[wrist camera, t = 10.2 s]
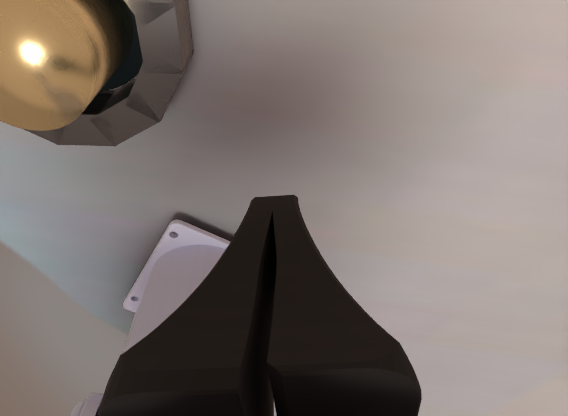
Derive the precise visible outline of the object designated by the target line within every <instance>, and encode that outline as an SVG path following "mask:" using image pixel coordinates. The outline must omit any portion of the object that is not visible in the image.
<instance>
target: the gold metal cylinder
mask: <svg viewBox="0 0 568 416" xmlns="http://www.w3.org/2000/svg"><path fill="white" fill-rule="evenodd" d="M132 43H133V21H132V17H131V13H130V10H129V8H128V5H127V4H126V2H125V1H124V0H0V121H2V122H4V123H7V124H9V125H12V126H15V127H18V128H22V129H27V130H36V131H47V130H54V129H58V128H61V127H64V126H66V125H68V124H70V123H71V122H73V121H74V120H76V119H77V118H78V117H79V116H80V115H81V114H82V112H83V111H84V110H85V109H86V107H87V106H88V105H89V104H90V102H91V101H92V100H93V99H94V97H95V96H96V95H97V94H98V92H99V91H100V90H101V89H102V87H103V86H104V85H105V84H106V82H107V81H108V80H109V79H110V77H111V76H112V75H113V74H114V72H115V71H116V70H117V69H118V67H119V66H120V65H121V64H122V62H123V61H124V60H125V58H126V57H127V56H128V54H129V52H130V49H131V46H132Z"/></svg>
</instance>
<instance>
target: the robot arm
mask: <svg viewBox="0 0 568 416" xmlns="http://www.w3.org/2000/svg"><path fill="white" fill-rule="evenodd" d="M172 232H176V233H177V234H174V233H172ZM123 307H124V308H125V309H126V310H129V311H132V312H134V313H135V316H134V319H133V322H132V325H131V328H130V331H129V334H128V337H127V340H126V343H125V346H124V349H123V352H122V354H121V355H120V357H119V359H118V361H117V364H116V366H115V368H114V370H113V372H112V374H111V376H110V378H109V381H108V383H107V386H106V390H105V393H104V394H101V393H91V394H90V395H89V397H88V398H86V399H84V400H82V401H81V402H79V403H77V404H76V406H75V407H74V409H73V411H72V413H71V415H70V416H274V403H275V408H276V413H277V416H418V412H419V407H420V403H421V388H420V385H419V382H418V379H417V377H416V374H415V372H414V369H413V367H412V365H411V363H410V361H409V359H408V357H407V355H406V353H405V352H404V350H403V348H402V346H401V345H400V343H399V342H398V341H397V340H396V339H394V338H393V337H392V336H391V335H390V334H388V333H387V332H386V331H385V330H384V329H383V328H382V327H381V326H380V325H378V324H377V323H376V322H375V321H374V320H373V319H372V318H371V317H370V316H369V315H368V314H367V313H366V312H365V311H364V310H363V309H362V308H361V306H360V305H359V304H358V303H357V302H356V301H355V300H354V299H353V298H352V296H351V295H350V294H349V293H348V292H347V291H346V290H345V288H344V287H343V286H342V284H341V283H340V282H339V281H338V279H337V278H336V277H335V275H334V274H333V272H332V271H331V270H330V268H329V267H328V265H327V264H326V262H325V260H324V259H323V257H322V256H321V254H320V252H319V251H318V249H317V247H316V245H315V243H314V242H313V240H312V238H311V236H310V233H309V231H308V229H307V227H306V225H305V223H304V220H303V217H302V215H301V212H300V208H299V204H298V198H297V197H296V196H295V195H284V196H268V197H255V198H254V199H253V200H252V201H251V203H250V206H249V208H248V210H247V212H246V215H245V217H244V219H243V221H242V222H241V224H240V226H239V228H238V230H237V232H236V233H235V235H234V237H233V238H232V240H231V242H230V241H228V240H226V239H223V238H221V237H219V236H216V235H214V234H212V233H209V232H207V231H205V230H202V229H200V228H198V227H195V226H193V225H191V224H188V223H186V222H184V221H181V220H173V221H171V222H170V224H169V226H168V227H167V229H166V231H165V232H164V234H163V236H162V237H161V239H160V241H159V242H158V244H157V246H156V248H155V249H154V251H153V253H152V254H151V256H150V258H149V259H148V261H147V263H146V265H145V266H144V268H143V270H142V271H141V273H140V275H139V276H138V278H137V280H136V281H135V283H134V285H133V287H132V288H131V290H130V292H129V293H128V295H127V297H126V298H125V300H124V303H123Z"/></svg>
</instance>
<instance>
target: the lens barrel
mask: <svg viewBox="0 0 568 416" xmlns="http://www.w3.org/2000/svg"><path fill="white" fill-rule="evenodd" d="M124 1H125V2H126V4H127V5H128V8H129V10H130V13H131V17H132V21H133V43H132V46H131V49H130V52H129V54H128V56H127V57H126V58H125V60H124V61H123V62H122V64H121V65H120V66H119V67H118V69H117V70H116V71H115V72H114V74H113V75H112V76H111V77H110V79H109V80H108V81H107V82H106V84H105V85H104V86H103V87H102V89H101V90H100V91H99V92H98V94H97V95H96V96H95V97H94V99H93V100H92V101H91V102H90V104H89V105H88V106H87V107H86V109H85V110H84V111H83V112H82V114H81V115H80V116H79V117H78V118H77V119H76V120H74V121H73V122H71V123H70V124H68V125H66V126H64V127H61V128H58V129H54V130H47V131H36V130H27V129H24V130H26V131H29V132H31V133H33V134H35V135H38V136H40V137H42V138H44V139H47V140H49V141H51V142H53V143H56V144H57V145H95V146H117V145H118V144H119V143H121V142H123V141H125V140H127V139H129V138H130V137H132V136H134V135H136V134H138V133H140V132H142V131H143V130H145V129H147V128H149V127H151V126H153V125H154V124H156V123H158V122H160V121H161V119H162V117H163V115H164V113H165V111H166V109H167V107H168V105H169V103H170V101H171V99H172V95H173V93H174V91H175V89H176V87H177V84H178V82H179V80H180V78H181V76H182V74H183V73H184V71H185V69H186V67H187V65H188V63H189V61H190V59H191V57H192V55H193V51H194V50H193V44H192V34H191V25H190V15H189V6H188V0H124ZM137 74H138V75H137ZM136 75H137V78H136V79H134V80H133V81H131V82H129V81H130V80H131V79H133V78H134V77H135V76H136ZM127 82H129V83H128V84H126V83H127ZM124 84H126V85H124ZM122 85H124V86H123V87H121V88H119V89H118V90H116V91H104V90H110V89H114V88H117V87H120V86H122Z"/></svg>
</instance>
